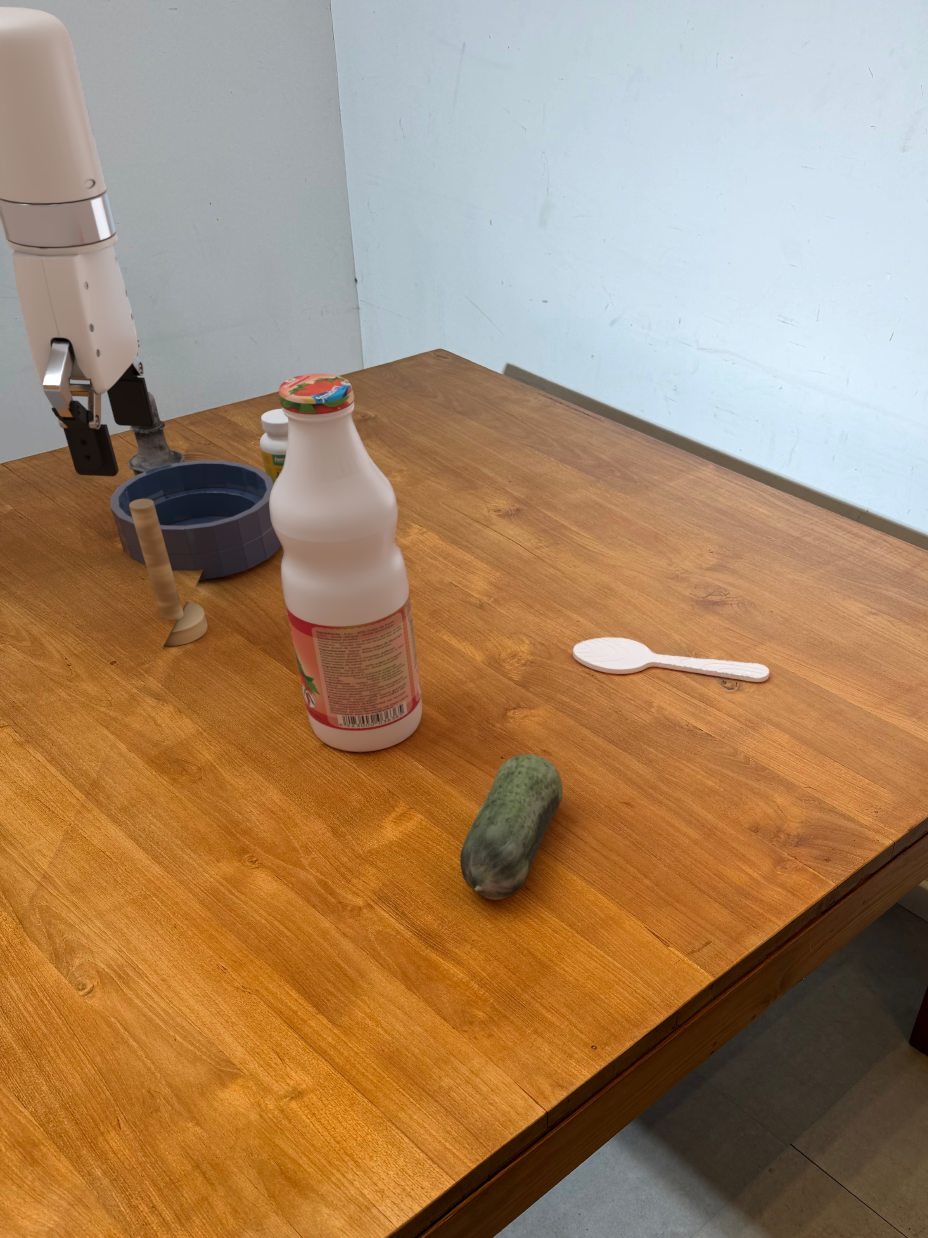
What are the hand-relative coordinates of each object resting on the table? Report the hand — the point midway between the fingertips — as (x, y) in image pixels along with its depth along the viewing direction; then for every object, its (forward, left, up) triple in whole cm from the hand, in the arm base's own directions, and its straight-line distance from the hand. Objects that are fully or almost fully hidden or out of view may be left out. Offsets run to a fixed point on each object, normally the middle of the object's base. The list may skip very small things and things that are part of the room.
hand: (117, 448), depth 93 cm
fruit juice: (+20, -14, -17) cm, 30 cm away
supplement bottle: (+6, +27, -17) cm, 33 cm away
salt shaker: (-9, +29, -17) cm, 35 cm away
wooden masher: (+1, 0, -17) cm, 17 cm away
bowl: (-1, +16, -17) cm, 23 cm away
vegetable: (+33, -30, -17) cm, 48 cm away
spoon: (+46, -5, -17) cm, 50 cm away
